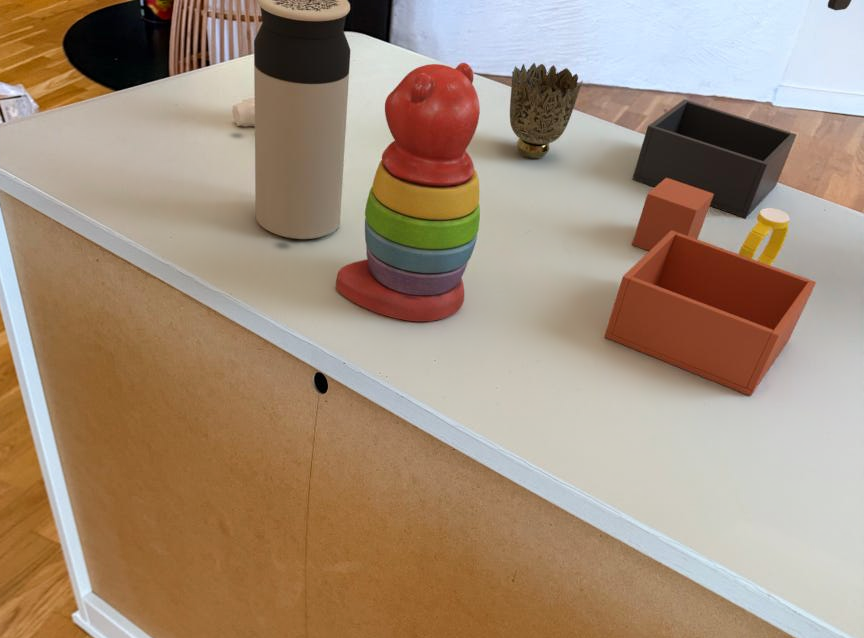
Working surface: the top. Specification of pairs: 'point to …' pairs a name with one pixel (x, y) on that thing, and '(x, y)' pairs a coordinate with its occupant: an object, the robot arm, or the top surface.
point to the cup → (541, 107)
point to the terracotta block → (671, 212)
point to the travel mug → (300, 115)
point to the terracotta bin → (708, 310)
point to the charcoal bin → (715, 155)
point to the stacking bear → (421, 201)
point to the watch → (766, 222)
